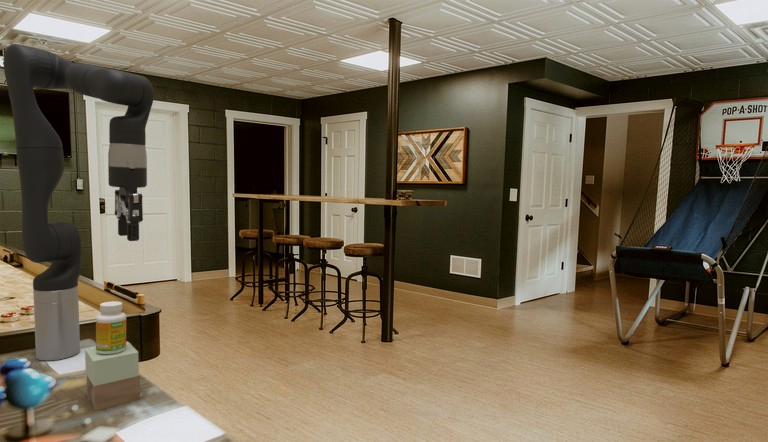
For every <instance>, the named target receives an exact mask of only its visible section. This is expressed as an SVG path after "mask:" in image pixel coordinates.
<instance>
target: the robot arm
mask: <svg viewBox="0 0 768 442" xmlns="http://www.w3.org/2000/svg"><path fill="white" fill-rule="evenodd" d="M3 71H4V76H5V83H6V86H7V91H8V92H7V93H8V97H9V100H10V105H11V110H12V117H13V127H14V136H15V150H16V160H17V167H18V175H19V183H20V192H21V193H20V196H21V241H22V249H23V252H24V254H25V256H26V258H27V259H28V260H29V261H30V262H31V263H36V264H38V263H45V262H51V264H50V266H49V267H47V269H45V270H44V271H43V272H40V273H38V275H36V276H34V278H33V280H32V289H33V290H32V291H33V313H34V318H33V319H34V337H35V341H34V342H35V358H36V359H37V360H39V361H46V362H47V361H58V360H64V359H66V358H67V359H68V358H70V357H73V356H75V355H77V354H79V353H80V352H81V345H80V344H81V340H80V338H81V337H80V310H79V309H80V307H79V306H80V305H79V304H80V303H79V302H80V301H79V278H80V275H81V266H82V263H81V262H82V238H81V235H80V234H81V233H80V231H79V229H78V227H77V226H76V225H75V224H74V223H71V222H68V221H65V222H64V221H61V222H50V223H49V217H48V216H49V212H48V211H49V203H50V200H51V197H52V195H53V193H54V191H55V190H56V188H57V186H58V184H59V183H60V181H61V179H62V177H63V174H64V172H65V158H64V148H63V142H62V140H61V138H60V136H59V134H58V133H57V132H56V130H55V129H54V127H53V126H52V124H51V123H50V122H49V120H48V119H47V118H46V116H45V115H44V113H43V112H42V111H41V109H40V107H39V104H38V103H37V99H36V95H35V91H34V88H36V89H41V90H42V89H43V90H61V89H62V90H64V89H66V90H72V91H73V92H76V93H77V94H80V95H83V96H86V97H91V98H94V99H99V100H100V101H103V102H107V103H111V104H115V105H120V106H127V110H126V112H125V114H124V115H118V116H113V117H112V118H111V119H109V126H108V127H109V128H108V131H109V135H108V136H109V137H108V138H109V144H108V145H109V147H108V153H107V157H108V158H107V159H108V161H107V164H108V165H107V166H108V169H107V170H108V176H107V177H108V185H109V186H110V187H112V188H119V189H115V191H114V216H116V219H117V234H118V236H121V237H122V236H123V237H125V236H126V240H127V241H128V242H137V241H139V240H140V224H141V222H143V220H144V218H143V217H144V216H143V215H144V214H143V213H144V212H143V210H144V209H143V197H144V196H143V194H142V193H138V188H139V189H140V188H142V189H143V188H146V187H147V185H148V167H147V166H148V165H147V164H148V161H147V160H148V157H147V156H148V155H147V154H148V153H147V149H146V146H147V145H146V144H147V143H146V142H147V141H146V139H147V138H146V136H147V135H146V127H147V124H148V121H149V117H150V113H151V110H152V106H153V103H154V98H155V91H154V87H153V84H152V82H151V81H150V80H149V79H148V78H147V77H145V76H144V75H141V74H136V73H131V72H127V71H122V70H118V69H114V68H113V69H112V68H106V67H103V66H99V65H93V64H90V63H81V62H80V63H76V62H73V61H70V60H67V59H66V58H63V57H61V56H59V55H57V54H55V53H54V52H52V51H48V50H45V49H41V48H36V47H32V46H27V45H23V44H18V43H13V44H10V45H9V46H7V48H6V49H5V52H4V55H3Z"/></svg>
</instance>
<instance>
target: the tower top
mask: <svg viewBox="0 0 768 442" xmlns="http://www.w3.org/2000/svg"><path fill="white" fill-rule="evenodd" d="M84 360H85V361H84V363H85V365H84V366H85V375H86V374H87V376H88V377H89V379H90V381H91V382H92V384H93V386H97V385H101V384H106V383H110V382H114V381H119V380H123V379H127V378H132V377H136V376H140V374H139V372H140V370H139V351H138V350H137V349H136V348H135V347H134V346H133V345H132V343H131V342H129V341H127V340H126V349H125V350H123V351H121V352H119V353H114V354H99V353H97V352H96V346H95V347H92V348H91V347H90V348H84ZM87 376H86V377H87Z"/></svg>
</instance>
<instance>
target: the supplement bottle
mask: <svg viewBox="0 0 768 442" xmlns="http://www.w3.org/2000/svg"><path fill="white" fill-rule="evenodd" d="M122 310H123V302H122V301H117V300H116V301H107V302H102V303H100V304H99V312H100V313H99V314H97V316H96V317H95V318H96V319H95V320H96V321H95V347H96V352H97V353H99V354H114V353H119V352H121V351H123V350H125V349H126V342H127V314H126V313H125V312H123V311H122Z"/></svg>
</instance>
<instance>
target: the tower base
mask: <svg viewBox="0 0 768 442" xmlns="http://www.w3.org/2000/svg"><path fill="white" fill-rule="evenodd" d="M85 375H86V397H87V398H88V400H89V402H90V404H91V405H92V408H93V410H94V411H95V412H96V411H100V410H103V409H107V408H111V407H115V406H118V405H121V404H122V405H123V404H127V403H131V402H133V401H139V400H140V399H141V392H140V391H141V388H140V387H141V386H140V380H141V379H140V375H139V376H136V377H132V378H127V379H123V380H119V381H114V382H110V383H106V384H101V385H97V386H93V384H92V382H91V381H90V379H89V377H88V376H87V374H86V373H85Z"/></svg>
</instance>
